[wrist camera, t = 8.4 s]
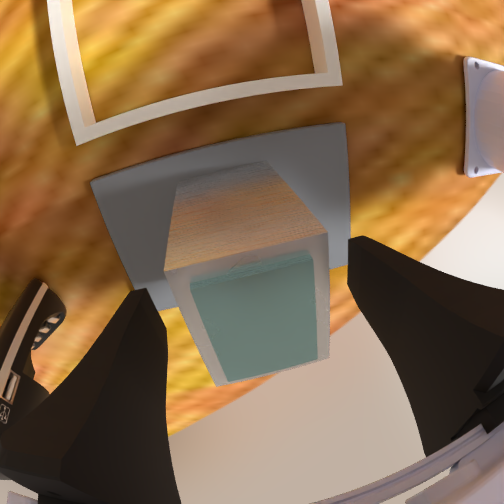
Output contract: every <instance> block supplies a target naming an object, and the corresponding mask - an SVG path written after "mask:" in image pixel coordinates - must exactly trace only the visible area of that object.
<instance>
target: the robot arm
mask: <svg viewBox="0 0 504 504" xmlns="http://www.w3.org/2000/svg"><path fill="white" fill-rule="evenodd" d="M463 64H464V76H465V92H466V146H465V163H464V173H465V175H466V176H468V177H470V178H471V177H477V176H483V175H489V174H495V173H501V172H503V173H504V66H502V65H499V64H495V63H492V62H488V61H485V60H481V59H477V58H473V57H465V58H464V61H463ZM474 64H475V65H474ZM347 284H348V287H349V289H350V291H351V293H352V295H353V297H354V299H355V301H356V303H357V305H358V307H359V309H360V310H361V312H362V313H363V315H364V316H365V318H366V320H367V321H368V322H369V324H370V326H371V327H372V329H373V330H374V332H375V333H376V335H377V337H378V338H379V340H380V341H381V343H382V344H383V346H384V347H385V349H386V351H387V353H388V354H389V356H390V358H391V360H392V362H393V364H394V366H395V368H396V371H397V373H398V375H399V377H400V380H401V382H402V384H403V387H404V389H405V392H406V394H407V397H408V399H409V402H410V405H411V408H412V411H413V414H414V417H415V420H416V423H417V426H418V430H419V434H420V437H421V441H422V445H423V450H424V453H425V455H426V458H424V459H422V460H421V461H419V462H417V463H415V464H413V465H411V466H409V467H407V468H405V469H403V470H400V471H398V472H396V473H394V474H392V475H390V476H387V477H385V478H383V479H380V480H378V481H375V482H373V483H371V484H368V485H366V486H363V487H360V488H358V489H355V490H352V491H349V492H346V493H344V494H340V495H337V496H334V497H331V498H328V499H325V500H321V501H318V502H314V503H310V504H379V503H381V502H384V501H386V500H388V499H391V498H393V497H395V496H397V495H399V494H401V493H404V492H406V491H408V490H410V489H412V488H414V487H416V486H418V485H420V484H421V483H423V482H425V481H427V480H429V479H431V478H432V477H434V476H436V475H438V474H439V473H441V472H443V471H445V470H446V469H448V468H449V467H451V466H452V467H451V469H450V473H449V475H448V476H446V477H445V478H443V479H441V480H440V481H438V482H436V483H435V484H433V485H431V486H429V487H428V488H426V489H424V490H423V491H421V492H420V493H418V494H416V495H415V496H413V497H411V498H409V499H407V500H406V502H405V503H406V504H504V290H502V289H496V288H492V287H488V286H484V285H481V284H477V283H473V282H470V281H467V280H464V279H461V278H458V277H455V276H452V275H449V274H446V273H444V272H442V271H438V270H437V269H434V268H432V267H430V266H427V265H425V264H422V263H420V262H418V261H416V260H414V259H412V258H410V257H408V256H406V255H404V254H402V253H400V252H398V251H396V250H394V249H392V248H390V247H388V246H385V245H383V244H381V243H379V242H377V241H375V240H373V239H371V238H368V237H366V236H359V237H355V238H351V239H348V278H347ZM167 364H168V344H167V330H166V327H165V325H164V323H163V321H162V319H161V317H160V315H159V313H158V311H157V309H156V307H155V305H154V303H153V301H152V298H151V296H150V294H149V292H148V290H147V288H142V289H138V290H134V291H131V292H130V293H129V294H128V295H127V297H126V298H125V299H124V301H123V302H122V304H121V305H120V307H119V308H118V310H117V311H116V312H115V314H114V315H113V317H112V318H111V320H110V321H109V323H108V324H107V326H106V327H105V329H104V330H103V332H102V333H101V334H100V336H99V337H98V338H97V340H96V341H95V342H94V344H93V345H92V347H91V348H90V349H89V351H88V352H87V354H86V355H85V356H84V357H83V359H82V360H81V361H80V362H79V364H78V365H77V366H76V367H75V368H74V370H73V371H72V372H71V373H70V374H69V375H68V376H67V378H66V379H65V380H64V381H63V382H62V383H61V384H60V385H59V386H58V387H57V388H56V389H55V390H54V391H53V392H52V393H51V394H50V395H49V396H48V397H47V398H46V399H45V400H44V401H43V402H42V403H40V404H39V405H38V406H37V407H36V408H35V409H34V410H32V411H31V412H30V413H29V414H28V415H26V416H25V417H24V418H23V419H21V420H20V421H18V422H17V423H16V424H14V425H13V426H11V427H10V428H9V429H7V430H6V431H4V432H3V433H2V435H1V440H0V472H1V473H2V474H3V475H5V476H6V477H8V478H10V479H11V480H13V481H15V482H17V483H18V484H20V485H22V486H24V487H26V488H28V489H30V490H32V491H34V492H36V493H38V501H37V500H35V499H32V498H29V497H26V496H23V495H20V494H17V493H14V492H11V491H9V492H8V497H7V504H181V500H180V497H179V493H178V490H177V485H176V481H175V476H174V471H173V467H172V462H171V455H170V449H169V441H168V433H167V423H166V384H167Z"/></svg>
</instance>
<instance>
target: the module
mask: <svg viewBox="0 0 504 504" xmlns="http://www.w3.org/2000/svg"><path fill="white" fill-rule="evenodd" d="M164 274H165V276H166V278H167V281H168V283H169V286H170V288H171V290H172V293H173V295H174V297H175V300H176V302H177V304H178V307H179V309H180V311H181V314H182V316H183V318H184V320H185V323H186V325H187V327H188V329H189V331H190V333H191V336H192V338H193V340H194V342H195V344H196V346H197V348H198V350H199V353H200V355H201V357H202V359H203V361H204V363H205V365H206V367H207V369H208V371H209V373H210V375H211V377H212V379H213V381H214V383H215V385H216V387H217V386H222V385H227V384H232V383H236V382H241V381H246V380H250V379H254V378H258V377H263V376H267V375H271V374H275V373H278V372H282V371H286V370H289V369H293V368H297V367H300V366H304V365H307V364H311V363H314V362H317V361H321V360H324V359H327V358H329V346H330V344H329V343H330V277H329V246H328V232H327V230H326V229H325V228H324V227H323V225H322V224H321V223H320V222H319V221H318V219H317V218H316V217H315V216H314V215H313V213H312V212H311V211H310V210H309V209H308V208H307V206H306V205H305V204H304V203H303V202H302V201H301V199H300V198H299V197H298V196H297V195H296V194H295V192H294V191H293V190H292V189H291V188H290V187H289V186H288V184H287V183H286V182H285V181H284V180H283V179H282V178H281V176H280V175H279V174H278V173H277V172H276V171H275V170H274V169H273V168H272V166H271V165H270V164H269V163H268V162H267V161H262V162H257V163H252V164H248V165H243V166H238V167H234V168H229V169H225V170H221V171H217V172H212V173H208V174H204V175H200V176H196V177H192V178H188V179H184V180H181V181H178V184H177V189H176V194H175V200H174V206H173V212H172V218H171V224H170V230H169V237H168V244H167V251H166V258H165V266H164Z"/></svg>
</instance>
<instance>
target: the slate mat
mask: <svg viewBox="0 0 504 504" xmlns="http://www.w3.org/2000/svg"><path fill="white" fill-rule="evenodd" d="M262 161H267V162H268V163H269V164H270V165H271V166H272V168H273V169H274V170H275V171H276V172H277V173H278V174H279V175H280V176H281V178H282V179H283V180H284V181H285V182H286V183H287V184H288V186H289V187H290V188H291V189H292V190H293V191H294V192H295V194H296V195H297V196H298V197H299V198H300V199H301V201H302V202H303V203H304V204H305V205H306V206H307V208H308V209H309V210H310V211H311V212H312V213H313V215H314V216H315V217H316V218H317V219H318V221H319V222H320V223H321V224H322V225H323V227H324V228H325V229H326V230H327V232H328V246H329V269H333V268H336V267H340V266H344V265H347V264H348V239H351V234H350V188H349V167H348V151H347V138H346V126H345V123H342V122H336V123H328V124H320V125H313V126H305V127H299V128H292V129H286V130H280V131H274V132H268V133H263V134H258V135H252V136H247V137H242V138H238V139H233V140H228V141H224V142H219V143H215V144H211V145H206V146H202V147H198V148H194V149H190V150H186V151H183V152H179V153H175V154H171V155H168V156H164V157H161V158H157V159H154V160H150V161H147V162H144V163H140V164H137V165H134V166H131V167H128V168H125V169H122V170H119V171H116V172H113V173H110V174H107V175H104V176H101V177H98V178H95V179H93V180H92V181H91V182H90V185H91V188H92V190H93V193H94V196H95V198H96V201H97V204H98V206H99V209H100V212H101V214H102V217H103V219H104V222H105V224H106V227H107V229H108V231H109V234H110V236H111V239H112V241H113V243H114V246H115V248H116V250H117V252H118V255H119V257H120V259H121V261H122V264H123V266H124V268H125V270H126V272H127V274H128V276H129V279H130V281H131V283H132V285H133V287H134V289H135V290H138V289H142V288H147V290H148V292H149V294H150V296H151V298H152V301H153V303H154V305H155V307H156V309H157V311H160V310H165V309H170V308H174V307H178V304H177V302H176V300H175V297H174V295H173V293H172V290H171V288H170V286H169V283H168V281H167V278H166V276H165V274H164V266H165V258H166V251H167V244H168V237H169V230H170V224H171V218H172V212H173V206H174V200H175V194H176V189H177V184H178V181H181V180H184V179H188V178H192V177H196V176H200V175H204V174H208V173H212V172H217V171H221V170H225V169H229V168H234V167H238V166H243V165H248V164H252V163H257V162H262Z"/></svg>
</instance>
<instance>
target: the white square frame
mask: <svg viewBox="0 0 504 504" xmlns="http://www.w3.org/2000/svg"><path fill="white" fill-rule="evenodd" d="M301 1H302V6H303V11H304V15H305V20H306V25H307V31H308V36H309V41H310V47H311V53H312V59H313V65H314V71H315V74H303V75H293V76H284V77H276V78H268V79H261V80H255V81H248V82H242V83H237V84H231V85H226V86H221V87H216V88H211V89H207V90H202V91H198V92H194V93H190V94H186V95H182V96H178V97H174V98H170V99H167V100H163V101H160V102H156V103H153V104H150V105H146V106H143V107H140V108H137V109H134V110H131V111H128V112H125V113H122V114H119V115H116V116H114V117H111V118H108V119H105V120H103V121H100V122H98V123H96V120H95V117H94V113H93V109H92V105H91V101H90V97H89V93H88V89H87V84H86V80H85V76H84V71H83V66H82V61H81V56H80V51H79V46H78V40H77V34H76V28H75V22H74V15H73V7H72V0H47V5H48V15H49V23H50V31H51V37H52V44H53V50H54V56H55V61H56V66H57V71H58V76H59V81H60V85H61V90H62V94H63V98H64V102H65V106H66V110H67V114H68V118H69V121H70V125H71V129H72V132H73V136H74V139H75V142H76V146H78V145H80V144H83V143H85V142H88V141H90V140H93V139H95V138H98V137H101V136H103V135H106V134H109V133H112V132H114V131H117V130H120V129H123V128H126V127H129V126H132V125H135V124H138V123H141V122H144V121H148V120H151V119H154V118H158V117H161V116H165V115H168V114H172V113H176V112H179V111H183V110H187V109H191V108H195V107H199V106H204V105H208V104H212V103H217V102H222V101H227V100H232V99H237V98H242V97H248V96H254V95H260V94H266V93H273V92H280V91H288V90H296V89H305V88H316V87H328V86H343V83H342V76H341V68H340V62H339V55H338V49H337V43H336V37H335V32H334V26H333V21H332V16H331V11H330V6H329V2H328V0H301Z"/></svg>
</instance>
